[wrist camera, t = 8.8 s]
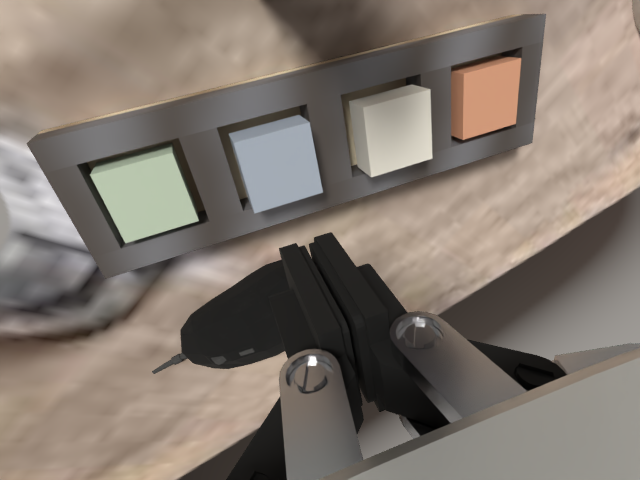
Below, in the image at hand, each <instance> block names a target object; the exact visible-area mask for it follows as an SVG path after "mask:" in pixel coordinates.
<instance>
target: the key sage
mask: <svg viewBox="0 0 640 480" xmlns="http://www.w3.org/2000/svg"><path fill="white" fill-rule="evenodd" d="M90 176H91V178H92V180H93V182H94V184H95V186H96V188H97V189H98V191H99V193H100V195H101V197H102V199H103V201H104V203H105V205H106V207H107V209H108V211H109V213H110V215H111V216H112V218H113V220H114V222H115V224H116V226H117V228H118V230H119V232H120V234H121V236H122V238H123V240H124V242H125V243H128V242H131V241H135V240H138V239H141V238H145V237H148V236H151V235H154V234H158V233H161V232H164V231H167V230H171V229H174V228H177V227H181V226H184V225H187V224H190V223H194V222H197V221H199V219H198V212H197V206H196V204H195V201H194V199H193V196H192V193H191V191H190V188H189V185H188V183H187V180H186V178H185V175H184V172H183V170H182V167H181V165H180V162H179V159H178V157H177V154H176V152H175V149H174V146H173V144H172V143H169V144H166V145H162V146H158V147H154V148H150V149H147V150H143V151H139V152H135V153H132V154H128V155H124V156H120V157H117V158H113V159H109V160H105V161H102V162H98V163H96V164H95V166H94V168H93V170H92V172H91V174H90Z"/></svg>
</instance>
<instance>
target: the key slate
mask: <svg viewBox="0 0 640 480" xmlns="http://www.w3.org/2000/svg"><path fill="white" fill-rule="evenodd" d="M229 137H230V140H231V144H232V147H233V150H234V154H235V157H236V160H237V163H238V167H239V170H240V173H241V177H242V180H243V183H244V187H245V190H246V193H247V197H248V200H249V202H250V204H251V207H252V209H253V211H254V213H258V212H262V211H265V210H268V209H271V208H274V207H278V206H281V205H284V204H287V203H291V202H294V201H297V200H300V199H304V198H307V197H310V196H313V195H316V194H320V193H323V190H322V185H321V179H320V174H319V169H318V164H317V158H316V153H315V148H314V143H313V137H312V132H311V127H310V122H309V121H307V120H306V119H304V118H303V117H302V116H300V115H296V116H292V117H289V118H285V119H281V120H277V121H274V122H270V123H266V124H262V125H259V126H255V127H251V128H248V129H244V130H240V131H236V132H233V133H229Z"/></svg>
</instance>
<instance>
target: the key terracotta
mask: <svg viewBox="0 0 640 480" xmlns="http://www.w3.org/2000/svg"><path fill="white" fill-rule="evenodd" d="M520 68H521V58H514V57H505V56H496V57H492V58H489V59H485V60H481V61H477V62H474V63H470V64H466V65H462V66H458V67H455V68H451V135H452V136H454V137H457V138H459V139H462V140H464V139H468V138H471V137H474V136H477V135H481V134H484V133H487V132H491V131H494V130H497V129H500V128H504V127H507V126H510V125H514V124H516V116H517V104H518V92H519V80H520Z"/></svg>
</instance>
